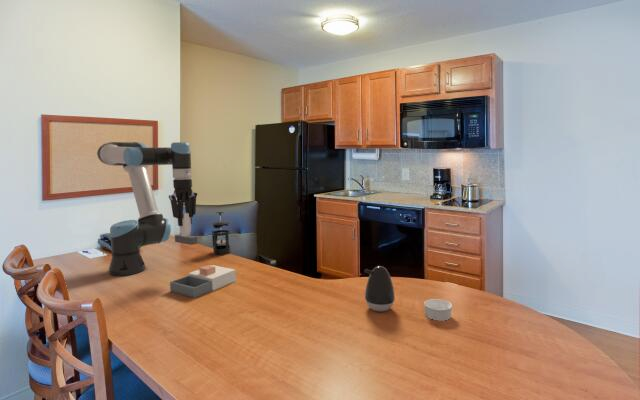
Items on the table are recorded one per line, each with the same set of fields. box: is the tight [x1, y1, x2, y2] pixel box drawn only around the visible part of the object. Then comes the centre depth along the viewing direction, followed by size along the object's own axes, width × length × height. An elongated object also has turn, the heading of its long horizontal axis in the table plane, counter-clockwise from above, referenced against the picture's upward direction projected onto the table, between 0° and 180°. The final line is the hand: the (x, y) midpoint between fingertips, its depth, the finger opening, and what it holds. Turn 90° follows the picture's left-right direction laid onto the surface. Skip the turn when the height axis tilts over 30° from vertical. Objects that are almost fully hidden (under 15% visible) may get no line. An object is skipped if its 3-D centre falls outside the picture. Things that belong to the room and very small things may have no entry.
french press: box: [211, 211, 232, 256], centre depth 202 cm, size 12×9×23 cm
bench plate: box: [188, 264, 237, 292], centre depth 155 cm, size 14×13×5 cm
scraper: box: [174, 212, 198, 246], centre depth 160 cm, size 11×3×13 cm, turn 59°
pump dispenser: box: [364, 265, 396, 313], centre depth 127 cm, size 10×10×15 cm
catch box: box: [169, 275, 213, 299], centre depth 146 cm, size 14×9×4 cm, turn 59°
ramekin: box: [423, 298, 453, 322], centre depth 121 cm, size 9×9×4 cm
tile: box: [198, 264, 216, 275], centre depth 153 cm, size 4×4×2 cm
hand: (185, 232), depth 160 cm, fingers closed on scraper, 2 cm apart
